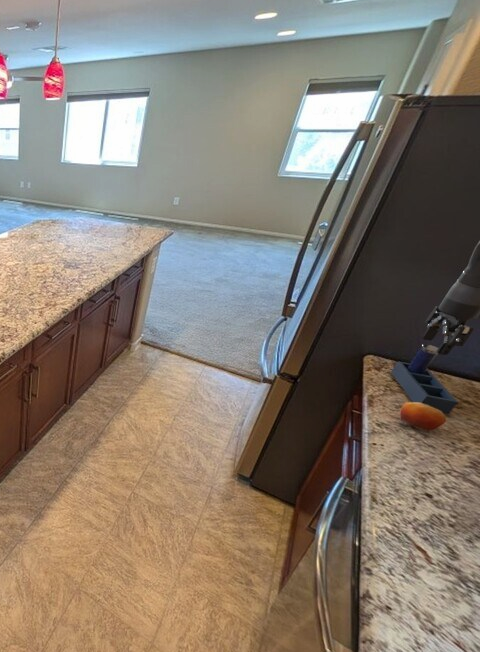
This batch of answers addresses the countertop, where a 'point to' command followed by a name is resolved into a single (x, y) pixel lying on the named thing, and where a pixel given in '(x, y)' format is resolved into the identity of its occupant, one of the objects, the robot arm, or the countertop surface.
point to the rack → (424, 388)
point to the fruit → (422, 416)
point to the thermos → (422, 359)
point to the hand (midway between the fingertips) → (433, 346)
